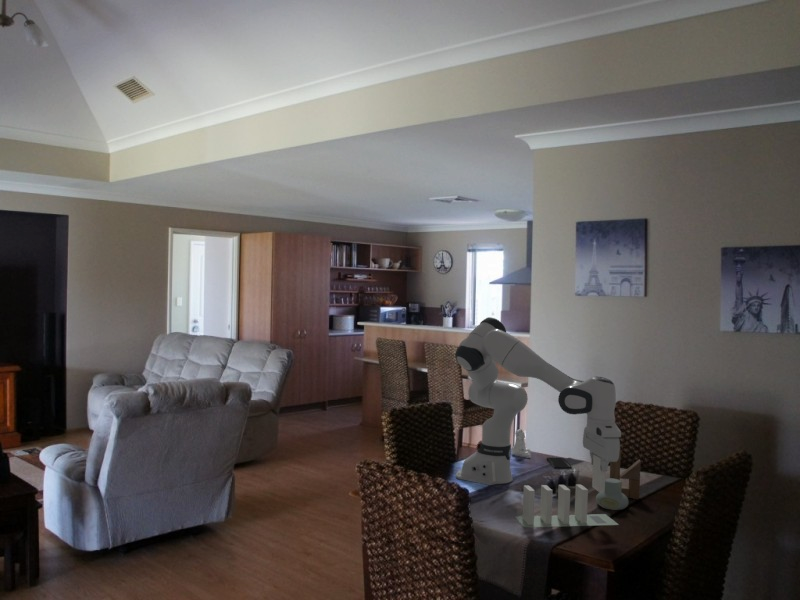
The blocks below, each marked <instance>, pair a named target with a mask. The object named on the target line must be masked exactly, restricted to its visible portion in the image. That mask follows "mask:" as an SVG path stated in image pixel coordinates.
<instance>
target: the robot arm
mask: <svg viewBox="0 0 800 600" xmlns="http://www.w3.org/2000/svg"><path fill="white" fill-rule="evenodd" d="M506 329H507V328H506V327H505V325H504V323H502V322H501V321H500V320H499V319H497V318H495V317H492V316H489V317H486V318H483V320H482V321H480V322H479V324H478V325H477V326H476V327H474V328H473V330H472V331H471V332H469V334H468V335H467V336H466V337H465V338H463V340H461V342H460V343H459V345H458V348H457V349H456V351H455V352H454V357H455V360H456V362H457V363H458V364H459V366H460V367H462V368H463V369H465V370H466V372H467V374H468V375H469V377H470V379H471V381H472V383H471V384H469V385H470V386H469V388H468V398H469V401H471V402H472V403H473V404H475V405H477V406H480V407H482V408H488V409H493V415H492V416H491V417H490V418H488V419H486V420H485V421H484V422H483V424H482V431H481V437H482V438H481V440H479V441H478V443H477V444H476V448H475V449H476V451H475V452H473V453H472V454H471V455H470V456H467V458H465V459H464V460H463V463H462V466H461V469H459V470H458V471H457V472H456V473H455V478H456V479H459V480H462V481H464V480H465V481H469V482H473V483H478V484H484V485H488V486H494V485H501V484H509V483H511V482H513V480H514V479H513V475H512V469H511V457H512V446H511V445H512V444H511V433H512V432H511V429H512V424H513V421H514V419H515V418H516V416H517V414H518V413H520V412H521V411H523V410H524V409H525V408H526V407H527V404H528V394H527V391H526V389H525V388H524V387H522V386H520V385H517V384H514V383H510V382H504V381H498V380H497V378H498V377H499V372H500V371H499V367H498V365H499V366H500V367H502V369H504V370H506V371H508V373H509V372H510V373H511V374H512V375H516V376H517V377H522V378H531V379H533V378H535V379H538V380H540V381H542V382H544V383H545V384H547V385H548V386H550V387H551V388H553V389H554V390H556V391H558V392H559V395H558V399H557V402H558V405H559V407H560V409H561V410H562V411H563V412H565V413H566V414H567V415H568V414H569V415H581V414H586V425H585V427H584V429H583V434H582V436H583V437H582V447H583V448H585V449H586V450H587V451H589V455H590V459H591V461H590V465H592V466H593V454H596V455H598V456H599V457H601V458H602V465H600V470H601V471H603V472H605V473H606V472H608V466H610V462H617V460H618V459H619V451H620V449H621V447H620V446H621V442H620V438H621V437H622V431H621V429H620V428H619V427H618V425H617V423H616V415H615V408H616V407H617V406H616V404H617V401H616V400H617V391H616V385H615V384H614V382H613V381H612V380H611V379H609V378H606V377H603V376H596V375H595V376H591V377H590V378H589V379H587V380H581V379H575V378H572V377H570V375H567V374H565V372H562V370H560V369H558V368H557V367H555V366H553V365H552V364H550V362H549V363H548V362H547V361H546V360H545V359H543V358H542V357H541V356H540V355H539V354H537V353H536V352H535V351H534V350H533V349H532V348H530V347H529V346H528V345H526V343H524V342H523V341H522V340H519V339H518V338H517V337H515V336H513V335H512V334H510V333H508V332H507V330H506ZM497 364H498V365H497Z"/></svg>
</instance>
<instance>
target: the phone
mask: <svg viewBox="0 0 800 600" xmlns="http://www.w3.org/2000/svg"><path fill="white" fill-rule="evenodd" d="M546 461H547V463H549V465H551V466H552V468H553V469H559V470H560V469H561V470H563V469H564V470H571V469H572V468H573V466H572V465H571V464H570V463H569V462H568V461H567V460H566V459H565V458H564V457H546Z"/></svg>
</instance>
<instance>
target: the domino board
mask: <svg viewBox="0 0 800 600" xmlns="http://www.w3.org/2000/svg"><path fill="white" fill-rule="evenodd" d="M514 518H515V519H516V520H517V521H518V523H519V524H520V525H522V527H523V528H525V529H526V528H552V527H553V528H554V527H555V528H556V527H561V528H562V527H589V526H590V527H592V526H595V527H596V526H619V525H620V524H619V523H617V522H616V521H615V520H614V519H612V518H611V517H610V516H609V515H608V514H606V513H600V514H599V513H597V514H596V513H593V514H592V513H591V514H588V513H587V523H581V522H579V521H578V520H577V519H576V518H575V514H569V524H564V523H563V522H562V521H560V520H559V519H558V518H557V514H555V515H552V523H551V524H545V523H544V522H543V521H542V520H541V519H540V515H534V525H528V524H527V523H526V522H525V521H524V519H523V515H519V516H518V515H516V516H515V515H514Z"/></svg>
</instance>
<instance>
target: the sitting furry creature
mask: <svg viewBox="0 0 800 600" xmlns="http://www.w3.org/2000/svg"><path fill="white" fill-rule="evenodd" d="M523 431H524V430H523V429H522V428H519V429H517V430H515V437H516V440H515V443H514V445H513V447H511V454H513V455H514V456H515V457H521V458H526V459H530V458H531V457H532V454H531V449H530V448H527V447H526V442H525V439H526V436H525V432H523Z"/></svg>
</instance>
